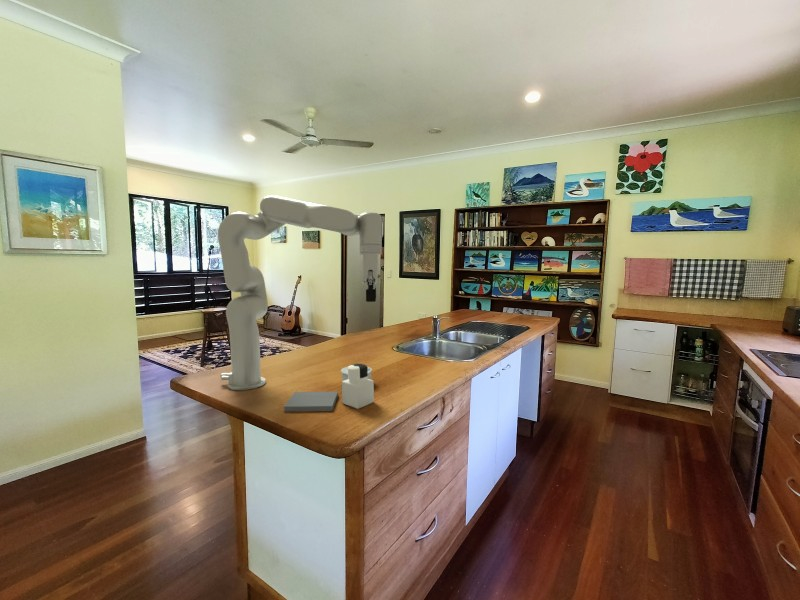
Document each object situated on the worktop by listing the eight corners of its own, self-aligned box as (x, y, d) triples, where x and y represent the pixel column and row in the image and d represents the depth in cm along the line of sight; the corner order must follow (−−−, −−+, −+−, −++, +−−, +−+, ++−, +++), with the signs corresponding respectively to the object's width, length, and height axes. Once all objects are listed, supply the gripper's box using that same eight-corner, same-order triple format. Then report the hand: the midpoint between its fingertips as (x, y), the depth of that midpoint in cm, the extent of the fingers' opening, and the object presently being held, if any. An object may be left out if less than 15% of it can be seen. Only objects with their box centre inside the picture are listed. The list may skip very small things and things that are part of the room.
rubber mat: (284, 411, 104) (283, 406, 104) (294, 396, 116) (294, 391, 116) (332, 410, 104) (332, 406, 104) (338, 395, 116) (338, 391, 116)
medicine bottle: (358, 396, 116) (357, 360, 114) (374, 402, 111) (374, 364, 110) (341, 403, 110) (341, 365, 109) (357, 409, 106) (357, 369, 104)
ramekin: (367, 390, 122) (366, 375, 121) (336, 388, 124) (335, 373, 124) (375, 380, 133) (375, 366, 132) (347, 378, 135) (347, 364, 134)
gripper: (361, 251, 130) (361, 297, 131) (358, 249, 112) (358, 303, 114) (381, 251, 130) (382, 297, 132) (381, 249, 113) (382, 302, 115)
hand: (371, 300), depth 123 cm, fingers open, 9 cm apart
